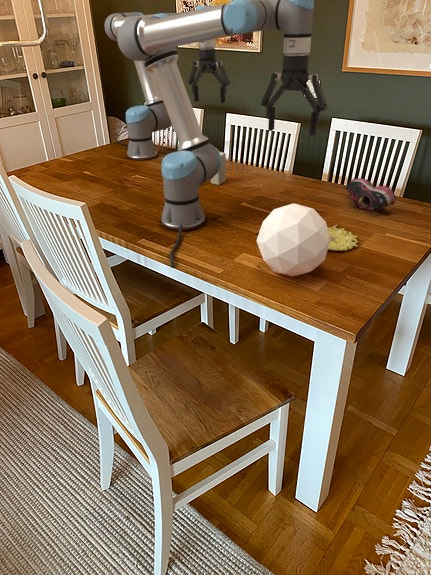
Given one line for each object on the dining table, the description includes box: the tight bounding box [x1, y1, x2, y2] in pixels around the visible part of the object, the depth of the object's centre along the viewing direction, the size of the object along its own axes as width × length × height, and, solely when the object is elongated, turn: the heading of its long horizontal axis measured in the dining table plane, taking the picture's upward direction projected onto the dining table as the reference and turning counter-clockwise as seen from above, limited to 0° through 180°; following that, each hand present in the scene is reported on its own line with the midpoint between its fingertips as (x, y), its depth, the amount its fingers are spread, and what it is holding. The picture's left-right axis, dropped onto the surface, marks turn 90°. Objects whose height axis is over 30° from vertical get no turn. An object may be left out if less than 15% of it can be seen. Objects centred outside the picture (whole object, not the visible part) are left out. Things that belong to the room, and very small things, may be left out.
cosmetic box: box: [210, 151, 227, 186], centre depth 187 cm, size 6×4×12 cm
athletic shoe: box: [345, 177, 396, 212], centre depth 161 cm, size 11×22×12 cm
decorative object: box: [327, 224, 359, 252], centre depth 141 cm, size 21×2×20 cm
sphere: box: [256, 202, 330, 278], centre depth 121 cm, size 19×20×20 cm
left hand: (209, 102), depth 199 cm, fingers open, 13 cm apart
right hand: (291, 132), depth 136 cm, fingers open, 13 cm apart
